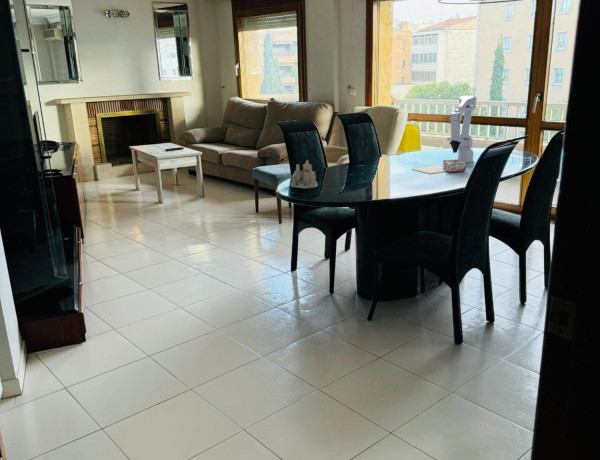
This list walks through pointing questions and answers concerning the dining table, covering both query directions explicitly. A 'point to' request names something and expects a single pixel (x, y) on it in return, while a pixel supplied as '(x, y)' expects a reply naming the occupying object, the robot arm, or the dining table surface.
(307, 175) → the white castle figurine
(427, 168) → the mat
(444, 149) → the dining table surface
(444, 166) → the candy bar box
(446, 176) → the dining table surface
